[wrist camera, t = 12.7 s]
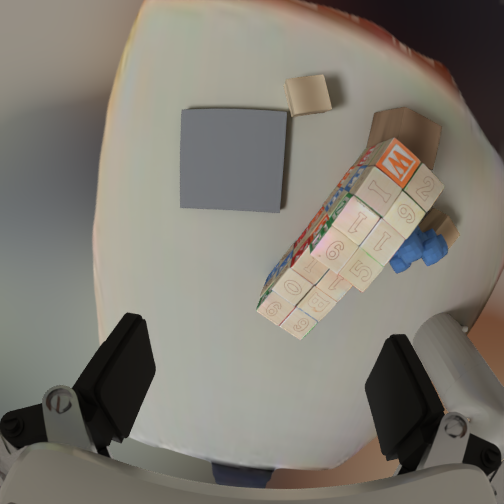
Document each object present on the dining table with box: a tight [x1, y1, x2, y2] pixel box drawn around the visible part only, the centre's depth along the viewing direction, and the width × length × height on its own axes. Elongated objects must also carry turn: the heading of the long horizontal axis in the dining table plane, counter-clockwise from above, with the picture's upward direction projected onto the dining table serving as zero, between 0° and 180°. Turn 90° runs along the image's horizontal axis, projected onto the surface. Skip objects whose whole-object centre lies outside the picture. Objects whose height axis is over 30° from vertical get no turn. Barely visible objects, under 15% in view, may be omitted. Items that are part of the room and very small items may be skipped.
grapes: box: [389, 225, 448, 273], centre depth 27 cm, size 12×7×12 cm, turn 84°
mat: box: [180, 109, 287, 213], centre depth 30 cm, size 12×12×1 cm
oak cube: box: [419, 208, 460, 249], centre depth 31 cm, size 4×4×4 cm
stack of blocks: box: [256, 138, 444, 340], centre depth 27 cm, size 21×6×12 cm, turn 146°
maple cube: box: [284, 75, 332, 117], centre depth 26 cm, size 4×4×4 cm
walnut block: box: [366, 107, 442, 170], centre depth 25 cm, size 5×5×8 cm
